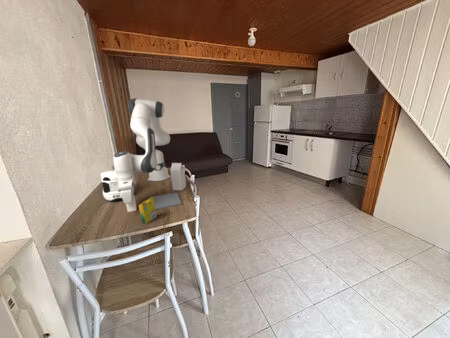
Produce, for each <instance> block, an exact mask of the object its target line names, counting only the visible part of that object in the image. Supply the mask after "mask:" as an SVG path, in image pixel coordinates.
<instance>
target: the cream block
mask: <svg viewBox="0 0 450 338" xmlns="http://www.w3.org/2000/svg"><path fill="white" fill-rule="evenodd" d="M135 196H136V195H135V194H133V199H132V204H133V206H132V207H129V205H128V204H125V205H126V210H127V211H126V212H127V213H129V212H135V211H137V208H138V207H137V202H136V197H135Z"/></svg>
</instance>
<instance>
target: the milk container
mask: <svg viewBox="0 0 450 338" xmlns="http://www.w3.org/2000/svg"><path fill="white" fill-rule="evenodd" d="M100 179H101V184H102V196H103V198H104V199H105V201H109V202H116V201H117V202H118V201H123V198H122V195H121V190H119V188H118V182H117V174H116V171H115V168H113V169H109V170H105V171H102V172H101V173H100Z"/></svg>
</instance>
